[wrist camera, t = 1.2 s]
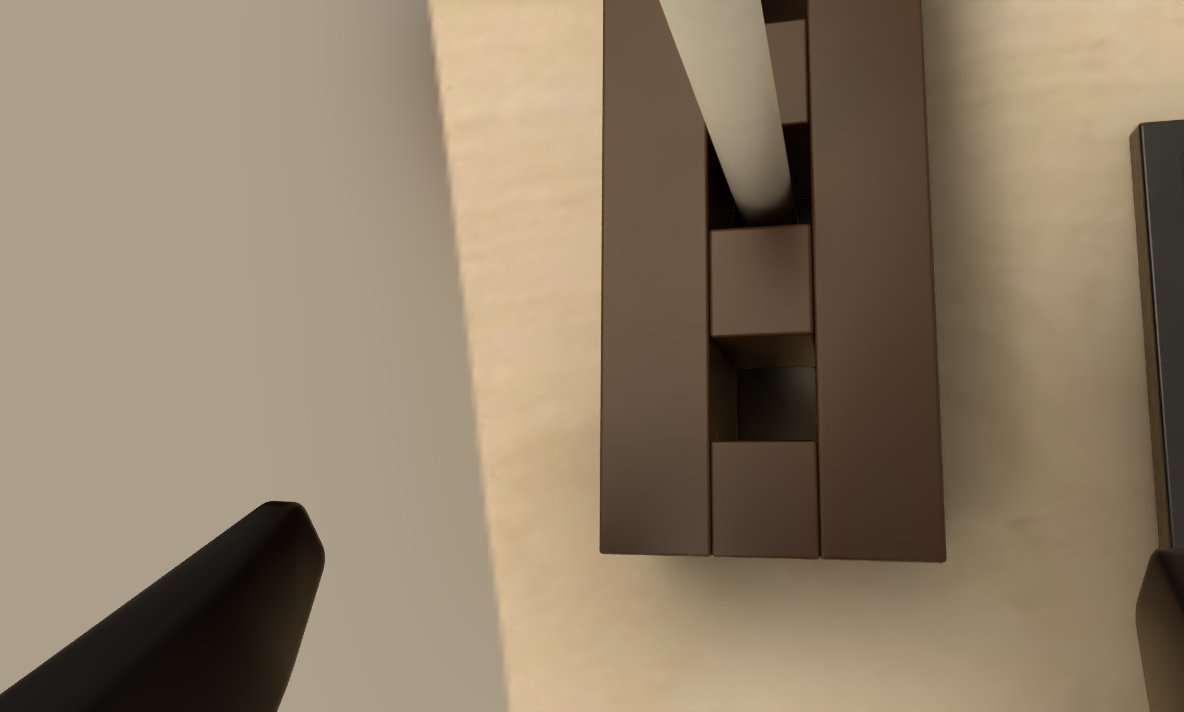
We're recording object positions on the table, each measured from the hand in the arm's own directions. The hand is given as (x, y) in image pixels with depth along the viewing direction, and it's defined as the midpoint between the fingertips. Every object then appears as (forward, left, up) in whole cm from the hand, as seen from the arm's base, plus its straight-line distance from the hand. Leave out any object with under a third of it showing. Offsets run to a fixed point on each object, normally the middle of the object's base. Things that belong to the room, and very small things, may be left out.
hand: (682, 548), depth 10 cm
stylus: (+7, 0, -13) cm, 15 cm away
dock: (+7, 0, -13) cm, 15 cm away
